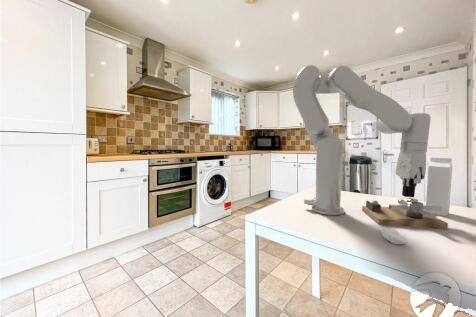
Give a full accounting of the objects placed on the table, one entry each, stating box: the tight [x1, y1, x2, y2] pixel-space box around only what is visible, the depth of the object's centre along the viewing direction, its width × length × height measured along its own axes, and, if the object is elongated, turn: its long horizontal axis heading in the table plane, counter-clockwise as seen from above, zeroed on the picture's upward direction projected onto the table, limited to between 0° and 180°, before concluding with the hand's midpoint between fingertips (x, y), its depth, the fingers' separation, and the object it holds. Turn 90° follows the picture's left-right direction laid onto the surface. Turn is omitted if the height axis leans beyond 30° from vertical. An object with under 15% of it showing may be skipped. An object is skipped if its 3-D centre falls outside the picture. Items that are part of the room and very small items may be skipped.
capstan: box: [388, 197, 442, 219], centre depth 72 cm, size 16×16×6 cm
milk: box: [425, 157, 453, 217], centre depth 81 cm, size 6×6×22 cm
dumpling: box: [380, 226, 409, 245], centre depth 58 cm, size 7×5×4 cm
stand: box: [361, 199, 449, 230], centre depth 76 cm, size 20×15×6 cm
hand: (407, 196), depth 77 cm, fingers closed
